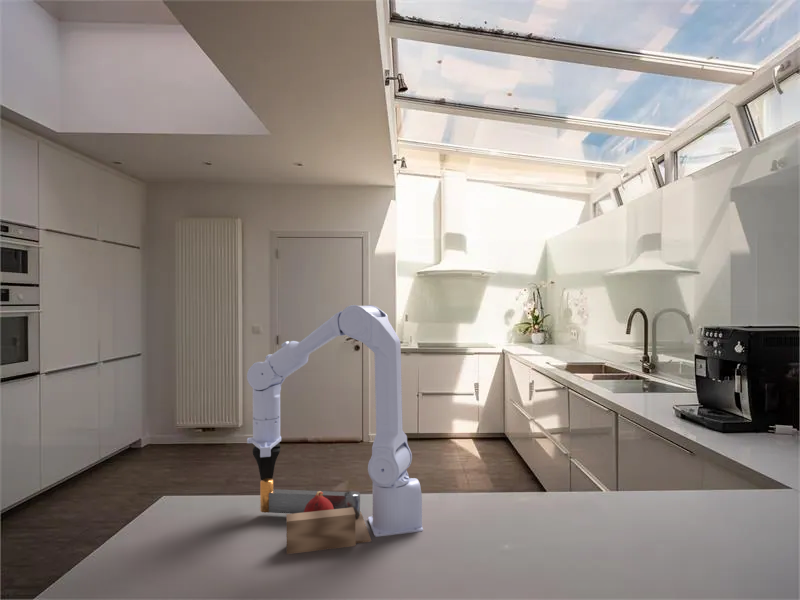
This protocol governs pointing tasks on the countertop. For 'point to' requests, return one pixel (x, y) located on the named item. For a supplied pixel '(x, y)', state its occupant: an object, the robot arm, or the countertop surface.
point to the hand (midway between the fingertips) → (266, 480)
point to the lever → (302, 499)
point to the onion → (318, 503)
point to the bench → (325, 530)
